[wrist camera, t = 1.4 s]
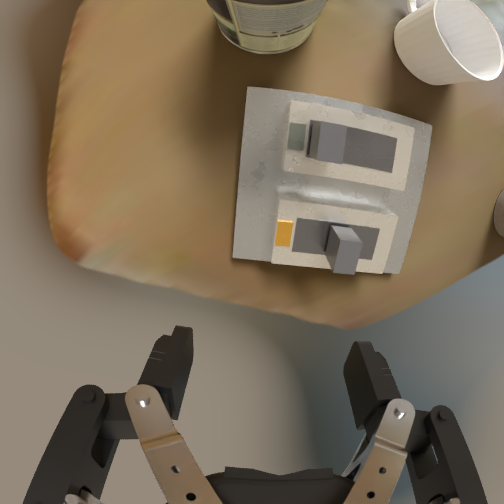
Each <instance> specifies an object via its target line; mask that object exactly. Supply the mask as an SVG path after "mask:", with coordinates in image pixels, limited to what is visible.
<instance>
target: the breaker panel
mask: <svg viewBox="0 0 504 504" xmlns="http://www.w3.org/2000/svg"><path fill="white" fill-rule="evenodd" d="M317 121H324V122H330V123H335V124H340V125H345V126H347V133H346V141H345V148H344V155H343V162H342V164H336V163H330V162H324V161H317V160H315V159H313V158H312V157H310V156H309V151H310V143H311V135H312V127H313V122H317ZM431 134H432V125H430V124H427V123H424V122H421V121H418V120H415V119H412V118H409V117H406V116H403V115H399V114H396V113H393V112H389V111H386V110H382V109H378V108H375V107H371V106H367V105H363V104H359V103H354V102H350V101H345V100H341V99H336V98H331V97H326V96H320V95H314V94H308V93H302V92H295V91H288V90H279V89H271V88H260V87H248V86H247V96H246V106H245V116H244V126H243V137H242V148H241V159H240V171H239V182H238V194H237V206H236V219H235V232H234V245H233V258H240V259H250V260H260V261H270V262H271V263H274V264H284V265H294V266H304V267H315V268H325V269H331V267H330V265H329V262H328V260H327V258H326V256H325V253H326V249H327V244H328V239H329V234H330V229H331V225H332V226H340V227H348V228H352V230H353V231H354V232H355V233H356V235H357V236H358V237H359V238H360V240H361V241H362V242H363V244H362V248H361V252H360V256H359V260H358V264H357V267H356V271H357V272H368V273H379V274H383V273H394V274H399V273H400V270H401V267H402V263H403V260H404V257H405V254H406V250H407V247H408V244H409V240H410V237H411V233H412V229H413V226H414V222H415V218H416V214H417V210H418V205H419V201H420V197H421V192H422V187H423V183H424V177H425V172H426V167H427V161H428V155H429V148H430V141H431Z"/></svg>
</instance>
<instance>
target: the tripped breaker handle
mask: <svg viewBox="0 0 504 504" xmlns="http://www.w3.org/2000/svg"><path fill="white" fill-rule="evenodd" d="M362 244H363V242H362V241H361V240H360V238H359V237H358V236H357V235H356V233H355V232H354V231H353V230H352V228H348V227H340V226H332V225H331V229H330V234H329V239H328V244H327V249H326V253H325V256H326V258H327V260H328V262H329V265H330V267H331V269H332V272H333V273H340V274H351V275H355V271H356V267H357V264H358V260H359V256H360V252H361V248H362Z"/></svg>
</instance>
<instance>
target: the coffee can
mask: <svg viewBox="0 0 504 504" xmlns="http://www.w3.org/2000/svg"><path fill="white" fill-rule="evenodd" d="M327 1H328V0H207V2H208V4H209V6H210V8H211V10H212V12H213V14H214V16H215V18H216V20H217V23H218V26H219V28H220V30H221V32H222V34H223V35H224V36H225V37H226V38H227V39H228V40H229V41H230V42H231V43H232V44H234V45H235V46H237V47H239V48H241V49H243V50H245V51H249V52H253V53H258V54H277V53H283V52H286V51H289V50H291V49H293V48H295V47H297V46H299V45H300V44H302V43H303V42H304V41H305V40H306V39H307V38H308V37H309V36H310V34H311V33H312V30H313V28H314V25H315V23H316V21H317V19H318V17H319V15H320V14H321V12H322V10H323V8H324V6H325V4H326V3H327Z"/></svg>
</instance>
